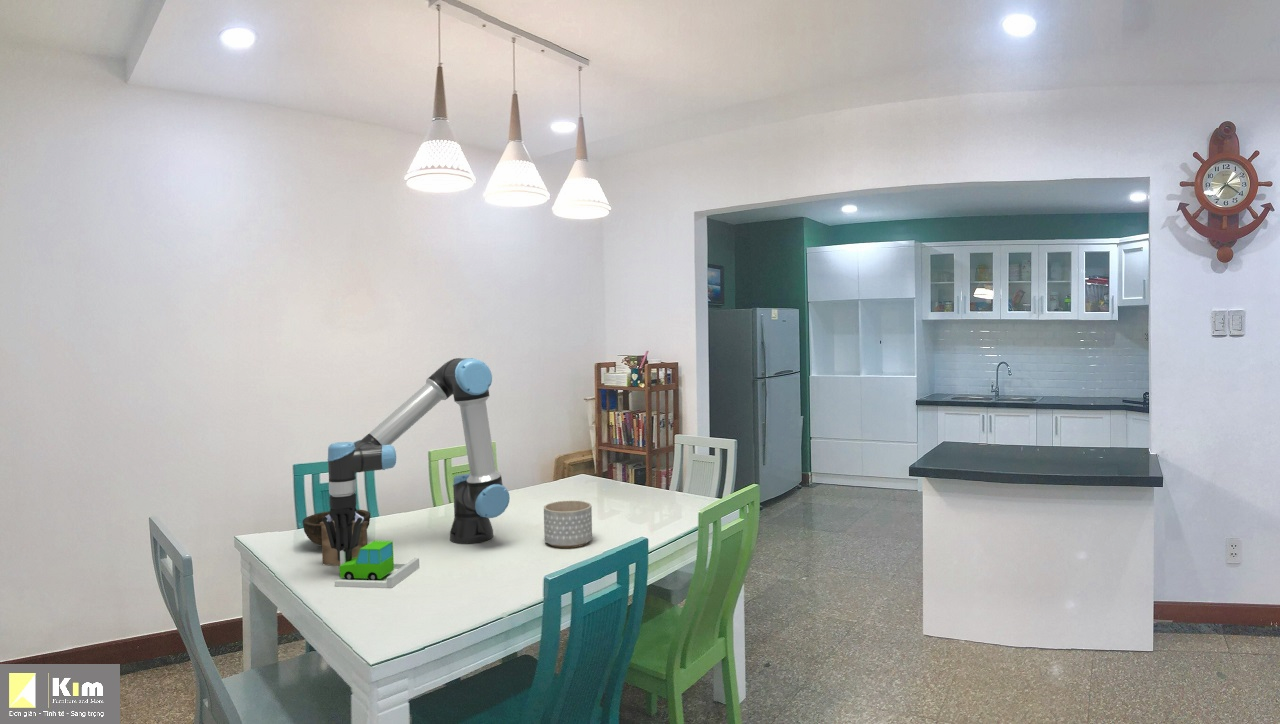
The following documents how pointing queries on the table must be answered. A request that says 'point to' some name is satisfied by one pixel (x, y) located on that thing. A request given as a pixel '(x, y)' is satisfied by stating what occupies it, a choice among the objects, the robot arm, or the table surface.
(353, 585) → the bay
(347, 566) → the toy car
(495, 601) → the table surface
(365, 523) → the brown textured panel
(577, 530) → the planter
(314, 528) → the bowl
